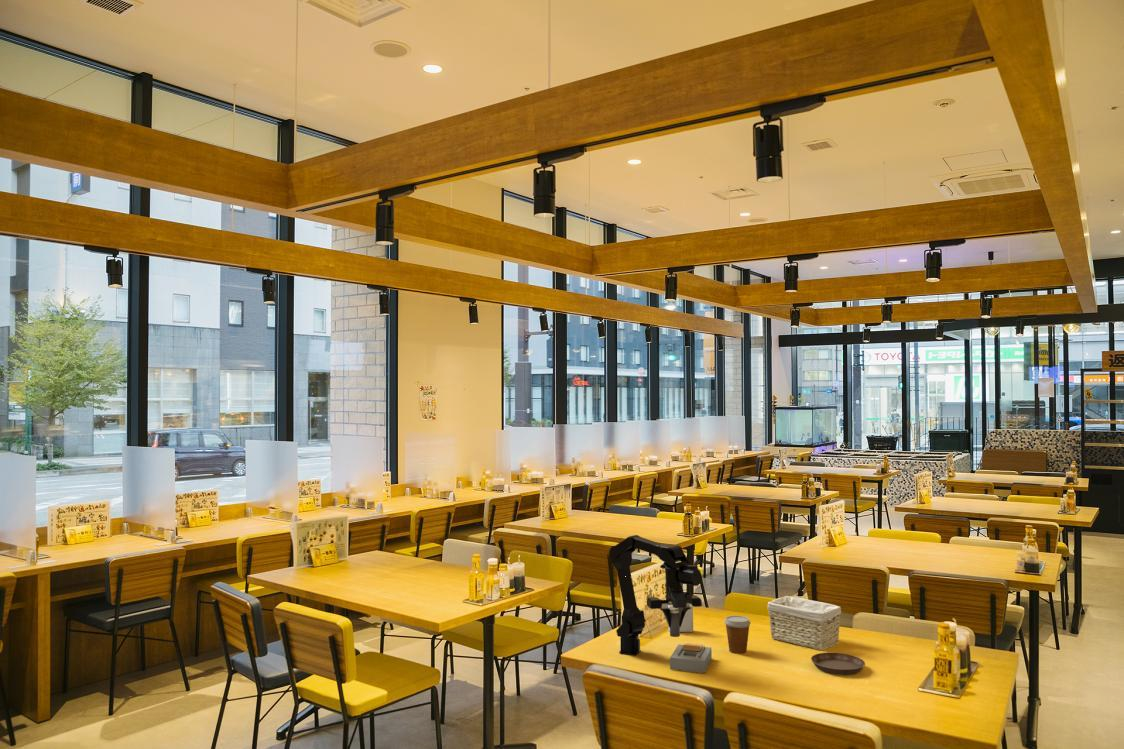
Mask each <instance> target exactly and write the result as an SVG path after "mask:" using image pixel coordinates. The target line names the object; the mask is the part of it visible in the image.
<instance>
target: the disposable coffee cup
mask: <svg viewBox="0 0 1124 749" xmlns="http://www.w3.org/2000/svg"><path fill="white" fill-rule="evenodd" d="M724 624H725V627H726V628H725V630H726V636H727V642H728V644H727V645H728V651H729V652H731V653H732V654H737V655H742V654H747V652H748V651H747V649H748V641H749V631H750V630H749V629H750V625H751V621H750V619H749V617H747V616H742V615H728V616H726V617H725V620H724Z"/></svg>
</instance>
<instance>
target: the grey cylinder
mask: <svg viewBox="0 0 1124 749" xmlns="http://www.w3.org/2000/svg"><path fill="white" fill-rule="evenodd" d="M670 621H671V627H670V632H669V636H670V637H671V638H672V637H673V638H679V637H680V636H681V635H680V634H681V632H680V623H679V609H670Z"/></svg>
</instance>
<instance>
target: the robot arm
mask: <svg viewBox="0 0 1124 749" xmlns="http://www.w3.org/2000/svg"><path fill="white" fill-rule="evenodd" d="M637 549H638V550H640V551H643V552H646V553H649V554H651V555H654V556H657V558H659V560H660V561H662V562H663V563H662V564H661V565H660V566H659V567H660V569H664V572H665V576H664V577H665V578H664V579H665V583H664V587H665V596H664V598H665V599H661V598H659V597H657V596H656V597H647V599H646V606H647V607H648V608H649V609H650V610H656V609H659V610H660V611H662V614H663V616H664V618H665V621H666V623H667V626H669V627H671V621H670V609H669V608H668V605H673V607H674V608H678V609H679V623H680V627H681V625H682V622H683V619H684V616H685V613H686V612H687V610H689V609H691V607H690V604H691V605H692V606H693V608H696V607H697V608H700V607H703V601H702V598H700V597H699V596H698V595H697V594H695V595H693V594H692V592H689V591H688V592H687V591H686V592H684V588H683V587H684V586H683V585H687V586H688V585H689V586H693V587H698V586H699V585H700V584H701V583H702V581H703V580H702V579H703V575H702V573H701V570H700V569H699V568H698V565H695V564H693V565H691V562H690V561H689V559H688V557H687V556H686V554H685V552H684V550H683V547H682V546H681V545H678V544H664V543H661V542H657V541H654V540H651V539H647V538H645V537H642V536H640V535H638V534H635V535H629V536H627V537H626V538H625V539H624V540H622V541H621V542H619V543H617V544H616V545H612V546H611V547H610V549H609V550H608V555H609V559H610V562H611V564H612V566H613V567H614V568H615V569H616V574H617V577H618V584H619V589H620V595H621V601H622V605H623V610H622V614H621V624H620V626H619V627H618V628H617V629H616V630H615V631H616V636H617V637H618V638H619V637H620V650H619V651H618V652H619V654H622V655H623V654H624V655H630V656H631V655H632V656H637V654H638V653H639V652H640V651H641V639H640V636H639V635H642V634H643V630H644V628H645V627H646V622H647V621H646V618H645V612H644V610H640V609H639V607H638V606H637V605H638V604H637V601H636V594H635V593H636V592H635V589H634V583H633V578H632V573H631V564H632V560H633V557H632V556H633V555H632V554H633V553H634V552H636V550H637ZM625 576H626V577H625Z"/></svg>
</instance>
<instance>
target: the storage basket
mask: <svg viewBox="0 0 1124 749" xmlns="http://www.w3.org/2000/svg"><path fill="white" fill-rule="evenodd" d="M766 609H767V610H768V616H769V626H770V636H771V638H772V640H776V641H780V642H785V643H788V644H795V645H798V646H800V647H802V648H803V647H804V648H811V649H813V650H819V651H825V650H827V649H829V648H831V647H833V646H836V645H837V644H838V643H839V639H840V638H839V637H840V635H839V634H840V623H841V621H840V618H841V617H840V616H841V614H842V608H841V606H838V605H836V604H832V603H827V602H821V601H817V600H811V599H807V598H802V597H796V596H790V595H789V596H788V595H785V596H782V597H779V598H776V599H772V600H771V601H768V603H767V608H766Z"/></svg>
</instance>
